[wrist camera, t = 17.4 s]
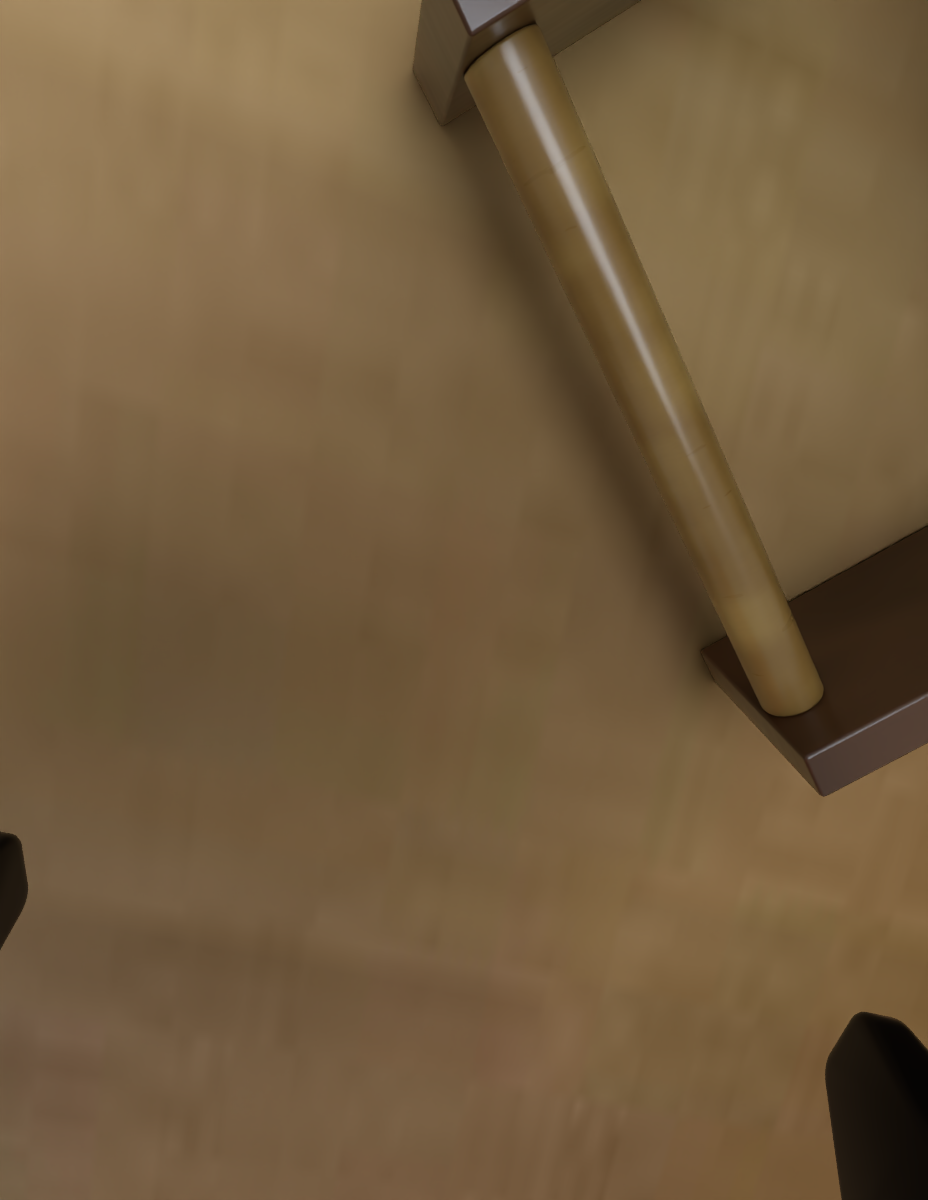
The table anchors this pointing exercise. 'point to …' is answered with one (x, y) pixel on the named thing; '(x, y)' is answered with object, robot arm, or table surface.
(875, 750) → the spice rack
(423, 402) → the table surface
